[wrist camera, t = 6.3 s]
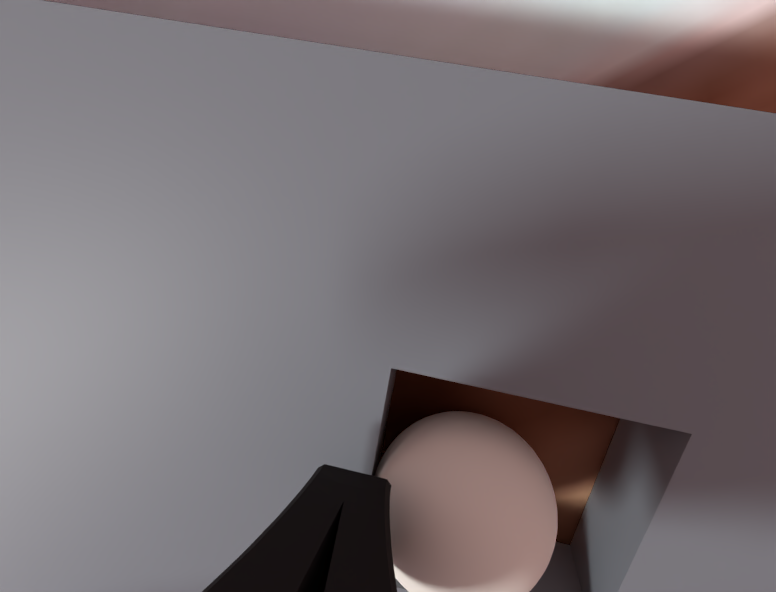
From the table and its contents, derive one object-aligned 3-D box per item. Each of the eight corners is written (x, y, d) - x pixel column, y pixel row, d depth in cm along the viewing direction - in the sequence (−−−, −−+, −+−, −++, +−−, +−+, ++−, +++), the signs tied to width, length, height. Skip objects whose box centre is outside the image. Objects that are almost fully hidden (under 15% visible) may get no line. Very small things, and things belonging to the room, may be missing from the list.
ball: (480, 480, 13) (583, 612, 10) (349, 527, 12) (417, 699, 8) (492, 362, 12) (621, 471, 8) (342, 400, 10) (424, 551, 7)
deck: (627, 699, 14) (660, 813, 11) (-70, 508, 16) (-161, 570, 14) (920, 157, 8) (1100, 163, 6) (-198, -20, 11) (-388, -67, 8)
